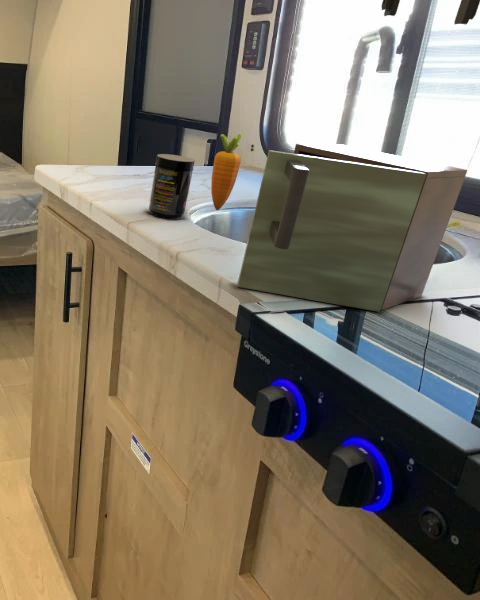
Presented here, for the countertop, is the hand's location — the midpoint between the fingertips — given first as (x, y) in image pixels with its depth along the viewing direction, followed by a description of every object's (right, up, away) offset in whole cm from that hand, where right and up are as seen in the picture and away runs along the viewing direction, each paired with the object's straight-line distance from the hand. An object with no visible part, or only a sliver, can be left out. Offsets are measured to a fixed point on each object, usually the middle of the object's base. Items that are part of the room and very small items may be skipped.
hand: (424, 20), depth 73 cm
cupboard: (-5, -31, +12) cm, 34 cm away
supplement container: (-26, -19, +37) cm, 49 cm away
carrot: (-15, -17, +46) cm, 51 cm away
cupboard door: (-14, -35, 0) cm, 38 cm away
